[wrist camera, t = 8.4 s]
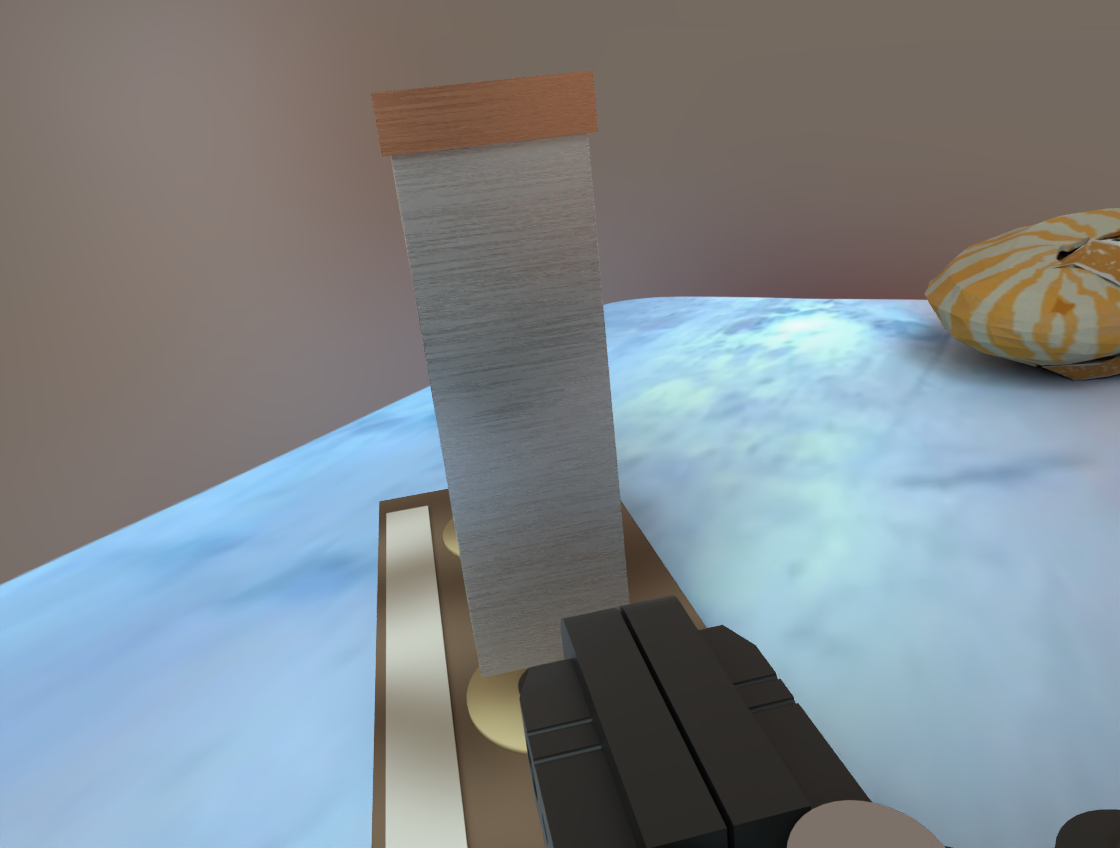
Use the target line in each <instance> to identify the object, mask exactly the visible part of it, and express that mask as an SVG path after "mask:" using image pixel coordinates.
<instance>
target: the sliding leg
mask: <svg viewBox="0 0 1120 848" xmlns="http://www.w3.org/2000/svg"><path fill="white" fill-rule="evenodd" d="M371 95H372V101H373V106H374V112H375V117H376V124H377V129H378V135H379V140H380V146H381V152H382V156H391V162H392V167H393V173H394V179H395V185H396V190H397V196H398V202H399V207H400V213H401V219H402V225H403V231H404V236H405V242H406V248H407V254H408V259H409V265H410V270H411V277H412V283H413V288H414V294H415V300H416V306H417V311H418V317H419V323H420V329H421V335H422V340H423V346H424V352H425V357H426V363H427V369H428V375H429V381H430V386H431V392H432V398H433V404H434V409H435V415H436V421H437V427H438V433H439V438H440V444H441V450H442V456H443V461H444V467H445V473H446V479H447V484H448V490H449V496H450V502H451V508H452V513H453V519H454V525H455V531H456V536H457V542H458V548H459V554H460V559H461V565H462V571H463V577H464V583H465V588H466V594H467V600H468V605H469V611H470V616H471V622H472V627H473V633H474V638H475V644H476V650H477V655H478V661H479V666H480V672H481V677H482V678H484V677H489V676H493V675H498V674H502V673H507V672H511V671H515V670H520V669H524V668H529V667H534V666H538V665H543V664H547V663H552V662H557V661H561V660H564V653H563V645H562V637H561V627H560V621H561V619H562V618H567V617H572V616H576V615H581V614H586V613H591V612H595V611H600V610H605V609H610V608H614V607H616V608H617V609H618V607H619V606H623V605H628V604H629V593H628V582H627V570H626V559H625V548H624V536H623V525H622V514H621V503H620V491H619V480H618V469H617V457H616V446H615V435H614V423H613V412H612V401H611V390H610V378H609V367H608V356H607V344H606V333H605V322H604V311H603V299H602V289H601V277H600V265H599V254H598V243H597V233H596V220H595V209H594V199H593V187H592V176H591V164H590V154H589V141H588V133H592V132H598V127H597V115H596V103H595V92H594V79H593V71H583V72H574V73H563V74H553V75H544V76H534V77H524V78H514V79H504V80H495V81H485V82H475V83H465V84H455V85H445V86H436V87H425V88H416V89H406V90H396V91H386V92H376V93H371Z"/></svg>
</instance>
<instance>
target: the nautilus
mask: <svg viewBox="0 0 1120 848" xmlns="http://www.w3.org/2000/svg"><path fill="white" fill-rule="evenodd" d="M925 295H926V297H927V299H928V301H929V303H930V305H931V306H932V308H933V310H934V311H935V313H936V314H937V316H938V318H939V319H940V321H941V322H942V324H943V326H944V327H945V329H946V330H947V331H948V332H949V334H950V335H951V336H952V337H953V338H955V339H957V340H959V341H961V342H963V343H965V344H967V345H969V346H971V347H973V348H975V349H977V350H979V351H981V352H983V353H985V354H989V355H993V356H997V357H1002V358H1006V359H1009V360H1013V361H1017V362H1020V363H1024V364H1028V365H1031V366H1035V367H1036V366H1038V365H1041V366H1042V367H1044V368H1046V369H1048V370H1051V371H1053V372H1056V373H1058V374H1061V375H1063V376H1065V377H1068V378H1070V379H1072V380H1074V381H1080V380H1087V379H1093V378H1100V377H1107V376H1112V375H1116V374H1120V208H1112V209H1101V210H1095V211H1088V212H1082V213H1076V214H1069V215H1063V216H1058V217H1055V218H1052V219H1049V220H1046V221H1044V222H1041V223H1038V224H1034V225H1030V226H1025V227H1020V228H1017V229H1015V230H1012V231H1009V232H1007V233H1004V234H1002V235H999V236H997V237H994V238H991V239H988V240H986V241H983V242H980V243H977V244H974V245H971V246H969V247H968V248H967V249H965V250H964V251H963V252H962V253H960V254H959V255H958V256H957V257H956V258H955V259H954V260H953V261H952V262H951V263H949V265H948V266H947V267H946V268H945V269H944V270H943V271H942V273H940V274H939V275H938V276H937V277H935V278H934V279H933V280H932V281H930V282H929V285H928V287H927V290H926V292H925Z"/></svg>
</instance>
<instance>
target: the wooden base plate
mask: <svg viewBox="0 0 1120 848" xmlns="http://www.w3.org/2000/svg"><path fill="white" fill-rule="evenodd" d="M620 503H621V514H622V525H623V536H624V548H625V559H626V570H627V582H628V593H629V604H632V603H637V602H642V601H647V600H651V599H656V598H661V597H666V596H670V595H674V596H676V597H677V598H678V600H679V601H680V603H681V604H682V606H683V607H684V609H685V610H686V612H687V614H688V615H689V617H690V618H691V620H692V621H693V623H694V624H695V626H696V628H697V629H698V630H702V629H706V626H705V625H704V623H703V622H702V620H701V619H700V617H699V616H698V614H697V613H696V611H695V610H694V608H693V607H692V605H691V604H690V603H689V601H688V600H687V598H686V597H685V595H684V594H683V592H682V591H681V589H680V588H679V586H678V585H677V583H676V582H675V580H674V579H673V577H672V576H671V574H670V573H669V571H668V570H667V568H666V567H665V565H664V564H663V563H662V561H661V560H660V558H659V557H658V555H657V554H656V552H655V551H654V549H653V548H652V546H651V545H650V543H649V542H648V540H647V539H646V537H645V536H644V534H643V533H642V531H641V530H640V528H639V527H638V525H637V524H636V523H635V521H634V520H633V518H632V517H631V515H630V514H629V512H628V511H627V509H626V508H625V506H624V505H623V503H622V502H621V500H620ZM528 670H529V668H524V669H520V670H515V671H511V672H507V673H502V674H498V675H493V676H489V677H484V678H482V677H481V672H480V666H479V661H478V655H477V650H476V644H475V638H474V633H473V627H472V622H471V616H470V611H469V605H468V600H467V594H466V588H465V583H464V577H463V571H462V565H461V559H460V554H459V548H458V542H457V536H456V531H455V525H454V519H453V513H452V508H451V502H450V496H449V490H448V489H445V490H439V491H434V492H428V493H423V494H418V495H412V496H407V497H401V498H396V499H390V500H385V501H380V503H379V547H378V592H377V636H376V680H375V724H374V768H373V812H372V848H545V843H544V839H543V833H542V829H541V825H540V820H539V816H538V811H537V807H536V802H535V798H534V792H533V786H532V779H531V773H530V766H529V760H528V753H527V747H526V740H525V733H524V727H523V720H522V714H521V707H520V701H519V698H520V695H521V692H522V689H523V685H524V682H525V679H526V676H527V673H528Z"/></svg>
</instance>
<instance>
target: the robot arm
mask: <svg viewBox="0 0 1120 848" xmlns="http://www.w3.org/2000/svg"><path fill="white" fill-rule="evenodd" d="M560 627H561V637H562V645H563V653H564V660H561V661H557V662H552V663H547V664H543V665H538V666H534V667H529V670H528V673H527V676H526V679H525V682H524V685H523V689H522V692H521V695H520V698H519V701H520V707H521V714H522V720H523V727H524V733H525V740H526V747H527V753H528V760H529V766H530V773H531V779H532V786H533V792H534V798H535V802H536V807H537V811H538V816H539V820H540V825H541V829H542V833H543V839H544V843H545V848H951V847H947V846H944V845H943V844H942V843H941V842H940V841H939V840H938V839H937V838H936V837H935V836H934V835H933V834H932V833H931V832H930V831H929V830H928V829H926V828H925V827H924V826H922V825H921V824H920V823H918V822H917V821H916V820H914V819H912V818H910V817H909V816H907V815H905V814H904V813H901V812H899V811H897V810H894V809H892V808H890V807H887V806H883V805H880V804H877V803H872V801H871V800H870V799H869V798H868V797H867V795H866V794H865V793H864V791H863V790H862V789H861V787H860V786H859V785H858V783H857V782H856V780H855V779H854V778H853V776H852V775H851V774H850V772H849V771H848V770H847V768H846V767H845V766H844V764H843V763H842V762H841V760H840V759H839V758H838V756H837V755H836V753H835V752H834V751H833V749H832V748H831V747H830V745H829V744H828V743H827V741H826V740H825V739H824V737H823V736H822V735H821V733H820V732H819V730H818V729H817V728H816V726H815V725H814V724H813V722H812V721H811V720H810V718H809V717H808V716H807V714H806V713H805V712H804V710H803V709H802V708H801V706H800V705H799V703H797V704H796V703H795V701H794V697H793V695H792V694H791V693H790V691H789V690H788V689H787V687H786V686H785V685H784V683H783V682H782V681H781V679H778V678H777V676H776V672H775V671H774V670H773V668H772V667H771V666H770V664H769V663H768V662H767V660H766V659H765V658H764V656H763V655H762V653H761V652H760V651H759V649H758V648H757V647H756V645H754V644H753V643H751V642H749V641H748V640H746V639H744V638H743V637H741V636H740V635H738V634H736V633H735V632H733V631H732V630H730V629H728V628H727V627H725V626H723V625H720V626H716V627H711V628H706V629H702V630H698V629H697V628H696V626H695V624H694V623H693V621H692V620H691V618H690V617H689V615H688V614H687V612H686V610H685V609H684V607H683V606H682V604H681V603H680V601H679V600H678V598H677V597H676V596H674V595H670V596H666V597H661V598H656V599H651V600H647V601H642V602H637V603H632V604H628V605H623V606H619V607H618V609H617V608H616V607H614V608H610V609H605V610H600V611H595V612H591V613H586V614H581V615H576V616H572V617H567V618H562V619H561V621H560ZM1055 848H1120V810H1095V811H1088V812H1085V813H1082V814H1079V815H1076V816H1075V817H1073V818H1072V819H1070V820H1068V821H1067V822H1066V823H1065V824H1064V825H1063V827H1062V828H1061V829H1060V831H1059V833H1058V836H1057V838H1056V845H1055Z"/></svg>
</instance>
